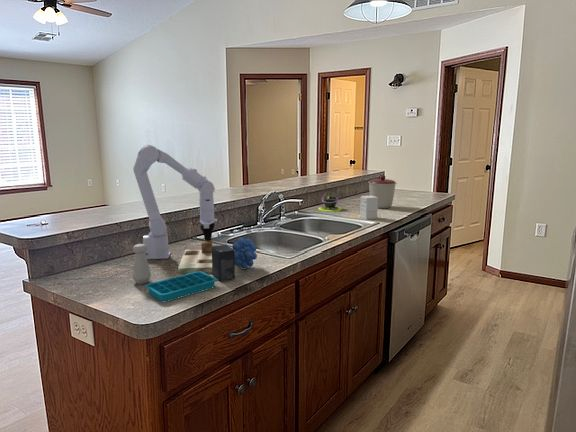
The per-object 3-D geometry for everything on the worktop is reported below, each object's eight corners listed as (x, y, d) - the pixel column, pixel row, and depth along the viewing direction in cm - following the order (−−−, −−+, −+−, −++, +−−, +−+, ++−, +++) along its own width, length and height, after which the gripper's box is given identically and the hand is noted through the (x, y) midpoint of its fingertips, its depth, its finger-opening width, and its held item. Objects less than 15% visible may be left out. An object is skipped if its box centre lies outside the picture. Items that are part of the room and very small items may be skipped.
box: (235, 279, 145) (234, 249, 143) (219, 281, 142) (218, 251, 140) (227, 272, 152) (226, 243, 150) (212, 274, 149) (211, 246, 147)
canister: (363, 204, 285) (365, 173, 281) (389, 204, 287) (391, 173, 283) (371, 210, 267) (373, 176, 263) (399, 209, 269) (401, 176, 265)
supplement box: (370, 216, 248) (371, 195, 246) (377, 219, 241) (378, 197, 239) (359, 217, 246) (360, 195, 243) (365, 219, 239) (366, 197, 236)
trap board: (178, 273, 150) (177, 268, 149) (185, 254, 172) (184, 250, 172) (212, 272, 151) (212, 267, 151) (215, 253, 174) (214, 249, 173)
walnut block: (201, 253, 168) (201, 243, 167) (202, 250, 171) (202, 240, 171) (212, 252, 168) (211, 243, 167) (212, 250, 172) (212, 240, 171)
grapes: (239, 275, 148) (238, 242, 146) (227, 270, 153) (226, 238, 151) (264, 268, 156) (263, 236, 154) (252, 263, 161) (252, 233, 159)
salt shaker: (133, 286, 138) (130, 248, 135) (132, 280, 143) (129, 243, 140) (152, 283, 140) (149, 246, 138) (150, 278, 145) (147, 241, 143)
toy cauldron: (314, 210, 268) (314, 192, 265) (324, 206, 280) (324, 189, 278) (336, 212, 260) (336, 194, 258) (345, 208, 273) (345, 191, 271)
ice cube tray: (144, 293, 133) (143, 284, 132) (200, 278, 146) (200, 270, 145) (161, 305, 124) (160, 295, 124) (219, 288, 138) (219, 279, 137)
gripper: (216, 212, 167) (217, 245, 170) (217, 205, 181) (218, 236, 184) (197, 213, 166) (199, 246, 169) (200, 206, 180) (201, 237, 183)
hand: (208, 241), depth 176 cm, fingers closed
